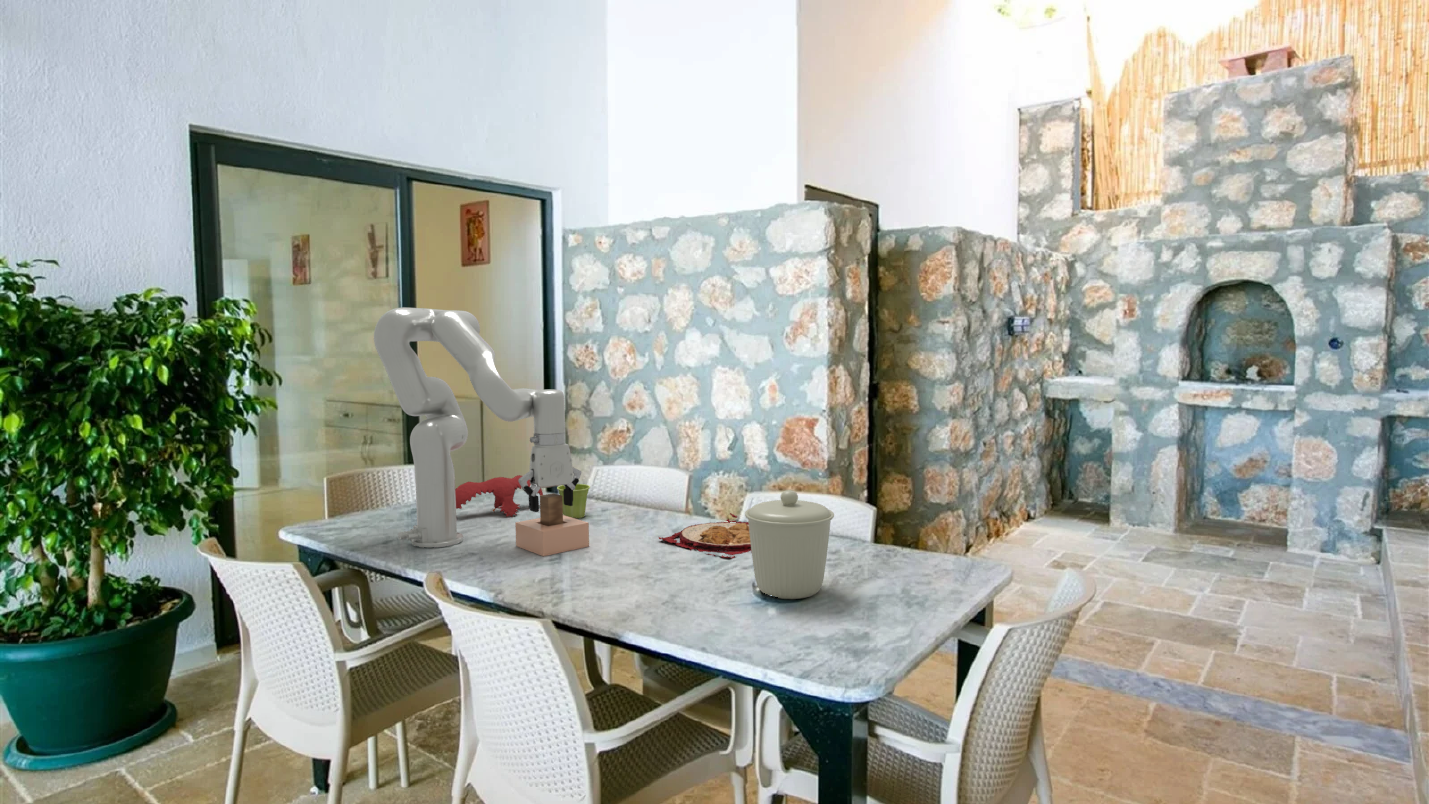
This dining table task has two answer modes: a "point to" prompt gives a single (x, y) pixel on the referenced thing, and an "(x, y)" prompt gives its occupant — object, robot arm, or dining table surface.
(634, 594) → the dining table surface
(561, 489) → the plant pot
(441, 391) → the robot arm
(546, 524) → the walnut peg
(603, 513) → the dining table surface
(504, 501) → the decorative bird sculpture
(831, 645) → the dining table surface
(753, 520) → the canister
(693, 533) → the plate with food
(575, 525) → the pink planter box
